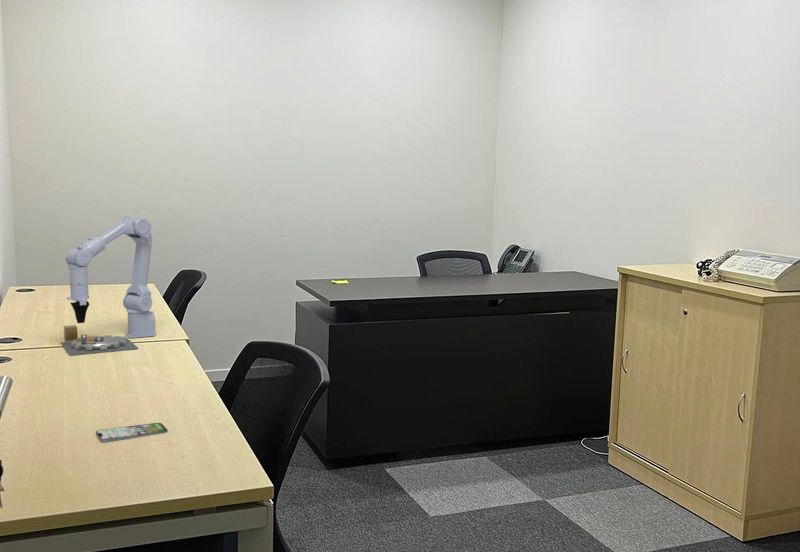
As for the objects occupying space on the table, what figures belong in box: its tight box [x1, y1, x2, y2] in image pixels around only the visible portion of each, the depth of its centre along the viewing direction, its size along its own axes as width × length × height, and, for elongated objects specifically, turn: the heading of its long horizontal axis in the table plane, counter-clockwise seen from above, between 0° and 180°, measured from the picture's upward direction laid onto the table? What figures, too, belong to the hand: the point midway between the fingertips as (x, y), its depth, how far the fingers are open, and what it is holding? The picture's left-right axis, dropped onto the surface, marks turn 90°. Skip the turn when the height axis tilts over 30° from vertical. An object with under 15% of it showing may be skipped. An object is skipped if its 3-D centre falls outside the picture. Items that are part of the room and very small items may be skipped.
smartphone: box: [95, 422, 169, 444], centre depth 179 cm, size 7×1×15 cm
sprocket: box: [70, 334, 127, 350], centre depth 266 cm, size 18×18×4 cm
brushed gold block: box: [63, 324, 79, 342], centre depth 275 cm, size 4×4×5 cm
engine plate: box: [60, 336, 139, 357], centre depth 267 cm, size 22×21×1 cm
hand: (80, 322), depth 264 cm, fingers closed
